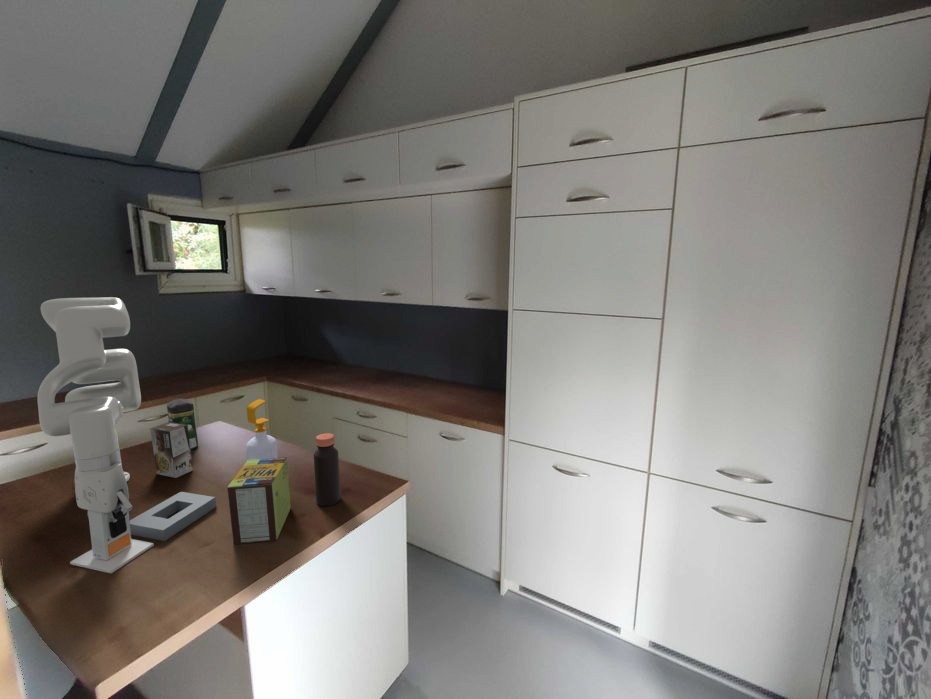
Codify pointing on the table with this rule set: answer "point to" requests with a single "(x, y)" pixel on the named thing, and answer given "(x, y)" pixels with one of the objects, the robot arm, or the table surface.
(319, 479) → the vinegar
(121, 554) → the white flat plate
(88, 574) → the table surface
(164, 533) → the slotted board
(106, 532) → the skincare box
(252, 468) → the protein box
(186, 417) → the coffee jar
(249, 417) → the soap bottle
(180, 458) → the coffee box
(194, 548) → the table surface
